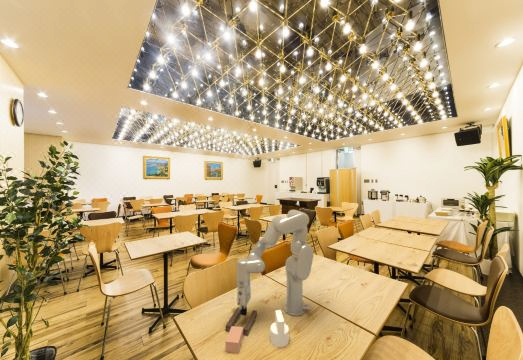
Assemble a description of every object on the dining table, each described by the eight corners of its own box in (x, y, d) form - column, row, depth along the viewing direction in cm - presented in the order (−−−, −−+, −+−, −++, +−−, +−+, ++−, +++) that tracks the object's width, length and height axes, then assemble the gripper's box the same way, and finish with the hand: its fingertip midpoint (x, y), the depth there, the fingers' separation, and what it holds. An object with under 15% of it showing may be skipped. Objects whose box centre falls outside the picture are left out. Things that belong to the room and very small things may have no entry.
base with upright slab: (269, 333, 107) (269, 310, 107) (286, 332, 108) (286, 309, 108) (271, 348, 98) (271, 322, 98) (290, 346, 99) (290, 321, 99)
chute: (257, 315, 121) (257, 310, 121) (247, 336, 106) (247, 330, 106) (237, 312, 125) (237, 307, 125) (225, 331, 109) (225, 325, 109)
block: (243, 337, 105) (243, 327, 105) (238, 353, 95) (238, 342, 95) (231, 336, 106) (231, 326, 106) (225, 352, 96) (225, 341, 96)
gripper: (245, 289, 109) (245, 324, 109) (254, 276, 123) (254, 307, 123) (231, 287, 111) (232, 322, 111) (242, 274, 125) (242, 305, 125)
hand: (243, 314), depth 117 cm, fingers closed
